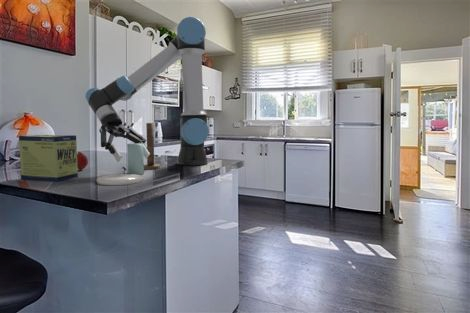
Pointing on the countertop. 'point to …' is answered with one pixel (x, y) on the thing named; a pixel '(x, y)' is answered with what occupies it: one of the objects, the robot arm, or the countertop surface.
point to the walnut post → (150, 147)
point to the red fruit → (81, 161)
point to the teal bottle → (135, 158)
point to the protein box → (48, 157)
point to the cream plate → (119, 179)
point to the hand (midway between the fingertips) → (134, 157)
